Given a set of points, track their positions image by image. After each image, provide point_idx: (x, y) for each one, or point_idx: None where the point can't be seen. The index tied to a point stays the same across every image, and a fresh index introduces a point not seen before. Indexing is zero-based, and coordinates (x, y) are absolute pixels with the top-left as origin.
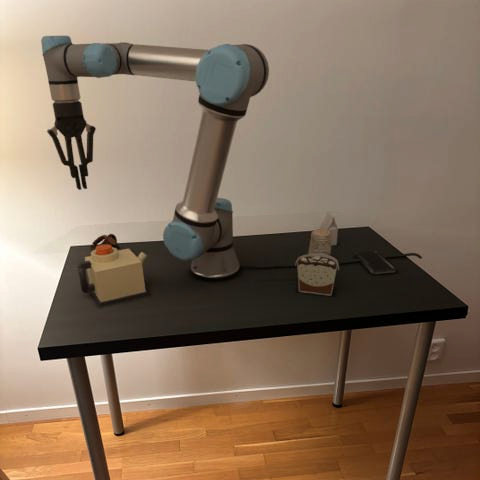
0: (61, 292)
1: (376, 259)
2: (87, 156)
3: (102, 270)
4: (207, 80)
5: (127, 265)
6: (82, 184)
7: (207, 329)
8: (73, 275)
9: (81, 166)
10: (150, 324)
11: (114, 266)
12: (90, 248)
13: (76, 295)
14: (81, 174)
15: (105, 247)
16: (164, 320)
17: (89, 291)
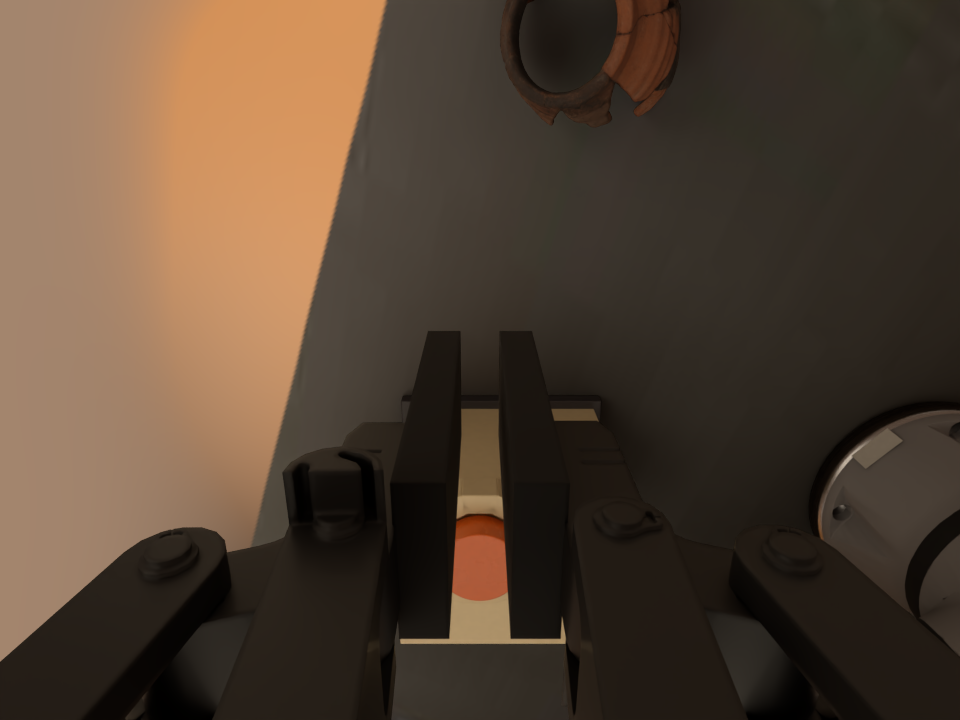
0: (294, 372)
1: None
2: (787, 638)
3: (430, 643)
4: None
5: (540, 641)
6: (500, 372)
7: None
8: (366, 220)
9: (524, 635)
10: (516, 700)
11: (487, 633)
12: (503, 35)
13: (347, 427)
14: (505, 493)
15: (487, 577)
16: (561, 699)
17: None
